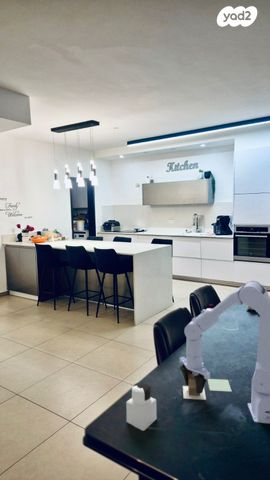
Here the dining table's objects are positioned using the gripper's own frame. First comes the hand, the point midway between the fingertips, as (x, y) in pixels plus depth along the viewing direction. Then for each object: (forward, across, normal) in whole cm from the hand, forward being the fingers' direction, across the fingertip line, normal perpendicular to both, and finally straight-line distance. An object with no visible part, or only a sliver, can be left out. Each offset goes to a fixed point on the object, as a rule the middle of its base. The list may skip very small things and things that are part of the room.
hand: (194, 388), depth 116 cm
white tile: (+2, 0, 0) cm, 2 cm away
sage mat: (+2, -1, -12) cm, 12 cm away
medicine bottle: (+2, -2, +25) cm, 25 cm away
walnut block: (+2, 0, 0) cm, 2 cm away
